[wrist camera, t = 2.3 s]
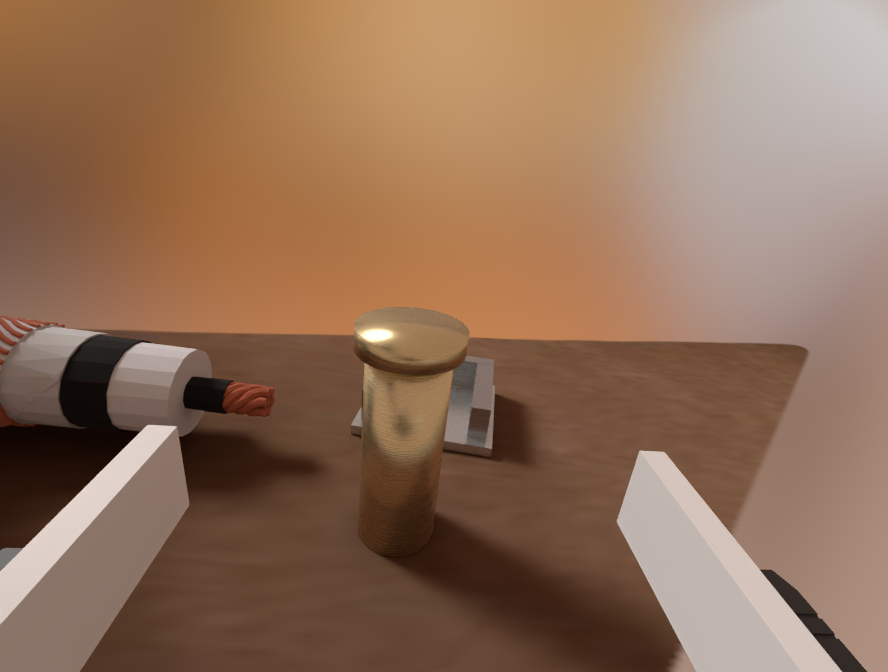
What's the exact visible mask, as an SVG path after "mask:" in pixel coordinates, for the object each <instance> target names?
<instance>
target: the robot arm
mask: <svg viewBox="0 0 888 672" xmlns="http://www.w3.org/2000/svg"><path fill="white" fill-rule="evenodd" d="M189 505H190V504H189V498H188V492H187V485H186V479H185V473H184V466H183V460H182V454H181V447H180V441H179V435H178V428H177V426H162V425H147V426H146V427H145V428H144V429H143V430H142V431H141V432H140V433H139V434H138V435H137V436H136V437H135V438H134V439H133V440H132V441H131V442H130V443H129V444H128V445H127V446H126V447H125V448H124V449H123V450H122V451H121V452H120V453H119V454H118V455H117V456H116V457H115V458H114V459H113V460H112V461H111V462H110V463H109V464H108V465H107V466H106V467H105V468H104V469H103V470H102V471H101V472H100V473H99V474H98V475H97V476H96V477H95V478H94V479H93V480H92V481H91V482H90V483H89V484H88V485H87V486H86V487H85V488H84V489H83V490H82V491H81V492H80V493H79V494H78V495H77V496H76V497H75V498H74V499H73V500H72V501H71V502H70V503H69V504H68V505H67V506H66V507H65V508H63V509H62V510H61V511H60V512H59V513H58V514H57V515H56V516H55V517H54V518H53V519H52V520H51V521H50V522H49V523H48V524H47V525H46V526H45V527H44V528H43V529H42V530H41V531H40V532H39V533H38V534H37V535H36V536H35V537H34V538H33V539H32V540H31V541H30V542H29V543H28V544H27V545H26V546H25V547H24V548H4V549H2V550H0V672H80V671H81V669H82V668H83V666H84V665H85V663H86V662H87V660H88V658H89V657H90V655H91V654H92V652H93V651H94V649H95V648H96V646H97V645H98V643H99V642H100V640H101V639H102V637H103V636H104V634H105V633H106V631H107V630H108V628H109V627H110V625H111V624H112V622H113V620H114V619H115V617H116V616H117V614H118V613H119V611H120V610H121V608H122V607H123V605H124V604H125V602H126V601H127V599H128V598H129V596H130V595H131V593H132V592H133V590H134V589H135V587H136V586H137V584H138V582H139V581H140V579H141V578H142V576H143V575H144V573H145V572H146V570H147V569H148V567H149V566H150V564H151V563H152V561H153V560H154V558H155V557H156V555H157V554H158V552H159V551H160V549H161V548H162V546H163V544H164V543H165V541H166V540H167V538H168V537H169V535H170V534H171V532H172V531H173V529H174V528H175V526H176V525H177V523H178V522H179V520H180V519H181V517H182V516H183V514H184V513H185V511H186V510H187V508H188V506H189ZM617 523H618V525H619V527H620V529H621V531H622V532H623V534H624V536H625V538H626V540H627V542H628V544H629V546H630V548H631V550H632V551H633V553H634V555H635V557H636V559H637V561H638V563H639V565H640V567H641V568H642V570H643V572H644V574H645V576H646V578H647V580H648V582H649V584H650V585H651V587H652V589H653V591H654V593H655V595H656V597H657V599H658V601H659V603H660V604H661V606H662V608H663V610H664V612H665V614H666V616H667V618H668V620H669V621H670V623H671V625H672V627H673V629H674V631H675V633H676V635H677V637H678V638H679V640H680V642H681V644H682V646H683V648H684V650H685V652H686V654H687V656H688V657H689V659H690V661H691V663H692V665H693V667H694V669H695V671H696V672H867V671H866V670H865V669H864V668H863V667H862V666H861V664H860V663H859V662H858V661H857V660H856V658H855V657H854V656H853V655H852V654H851V652H850V651H849V650H848V649H847V648H846V647H845V645H844V644H843V643H842V642H841V641H840V640H839V639H836V638H835V636H834V633H833V631H832V630H831V629H830V628H829V627H828V626H827V624H826V623H825V622H824V621H823V620H822V619H819V618H818V616H817V613H816V612H815V611H814V609H813V608H812V607H811V606H810V605H809V603H808V602H807V601H806V600H805V599H804V598H803V597H802V595H801V594H800V593H799V592H798V591H797V590H796V589H795V588H794V587H792V586H791V585H790V584H789V583H787V582H786V581H785V580H784V579H782V578H781V577H780V576H779V575H777V574H776V573H775V572H774V571H772V570H759V568H758V567H757V566H756V565H755V564H754V562H753V561H752V560H751V559H750V557H749V556H748V555H747V554H746V552H745V551H744V550H743V549H742V547H741V546H740V545H739V544H738V542H737V541H736V540H735V539H734V538H733V536H732V535H731V534H730V533H729V531H728V530H727V529H726V528H725V526H724V525H723V524H722V523H721V521H720V520H719V519H718V518H717V517H716V515H715V514H714V513H713V512H712V510H711V509H710V508H709V507H708V505H707V504H706V503H705V502H704V500H703V499H702V498H701V497H700V496H699V494H698V493H697V492H696V491H695V489H694V488H693V487H692V486H691V484H690V483H689V482H688V481H687V479H686V478H685V477H684V476H683V475H682V473H681V472H680V471H679V470H678V468H677V467H676V466H675V465H674V463H673V462H672V461H671V460H670V458H669V457H668V456H667V455H666V454H665V452H653V451H639V454H638V457H637V461H636V464H635V467H634V470H633V473H632V476H631V479H630V482H629V485H628V488H627V491H626V494H625V498H624V501H623V504H622V507H621V510H620V513H619V516H618V519H617Z"/></svg>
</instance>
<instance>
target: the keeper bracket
mask: <svg viewBox="0 0 888 672" xmlns="http://www.w3.org/2000/svg"><path fill="white" fill-rule="evenodd" d="M493 370H494V360H492V359H485V358H479V357H472V356H466V359H465V361H464V362H463V364H461V365H460V366H459V367H457V368H456V369H454V370H453V376H452V384H451V391H450V399H449V407H448V415H447V423H446V430H445V438H444V446H443V449H444V450H450V451H456V452H461V453H467V454H473V455H479V456H485V457H491V452H492V440H493V419H494V398H495V386H494V385H493ZM363 390H364V388H363V389H362V407H361V409H360V410H359V412H358V414H357V415H356V417H355V419H354V421H353V422H352V424H351V434H355V435H361V436H362V416H363Z"/></svg>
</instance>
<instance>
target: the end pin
mask: <svg viewBox="0 0 888 672" xmlns="http://www.w3.org/2000/svg"><path fill="white" fill-rule="evenodd" d="M354 325H355V326H354V351H355V354H356V355H357V357H358V358H359V359H360V360H362V361H363V362H364V363H365V365H364V390H363V416H362V441H361V466H360V491H359V516H358V532H359V535H360V538H361V540H362V541H363V543H364V544H365V545H366V546H367V547H368V548H369V549H371V550H372V551H374V552H376V553H378V554H380V555H384V556H389V557H403V556H407V555H410V554H413V553H415V552H417V551H419V550H420V549H422V548H423V547H424V546H425V545H426V544H427V543H428V541H429V540H430V538H431V536H432V532H433V524H434V516H435V509H436V501H437V493H438V485H439V477H440V470H441V462H442V454H443V446H444V438H445V430H446V423H447V415H448V407H449V399H450V391H451V384H452V376H453V370H454V369H456V368H457V367H459V366H460V365H461V364H463V362H464V361H465V359H466V354H467V347H468V340H469V330H468V328H467V327H466V326H465V325H464V324H463V323H462V322H461V321H459V320H457V319H455V318H454V317H451V316H449V315H446V314H443V313H440V312H436V311H432V310H427V309H420V308H410V307H393V308H383V309H377V310H373V311H370V312H367V313H365V314H363V315H361V316H360V317H359V318H357V320H356V321H355V324H354Z"/></svg>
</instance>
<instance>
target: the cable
mask: <svg viewBox="0 0 888 672" xmlns="http://www.w3.org/2000/svg"><path fill="white" fill-rule="evenodd" d="M273 395H274V388H272V387H267V386H262V385H257V384H253V385H250V384H247V383H237V382H234V381H232V380H223V379H214V378H212V370H211V363H210V360H209V357H208V355H207V354H206V353H205V351H201V350H198V349H191V348H183V347H175V346H167V345H159V344H152V343H151V342H149V341H143V340H136V339H128V338H120V337H113V336H111V335H110V334H107V333H99V332H91V331H83V330H75V329H70V328H65V326H64V325H58V324H57V323H53V322H42V321H37V320H26V319H22V318H14V319H13V318H11V317H8V316H0V427H5V426H8V425H14V426H22V427H26V426H34V427H35V426H36V424H42V425H51V426H60V427H69V428H77V429H83V428H94V429H103V430H112V431H121V432H125V431H139V432H141V431H142V430H143V429H144V428H145V427H146V426H147V425H162V426H177V428H178V435H179V436H180V437H182V436H184V435H186V434H188V433H190V432H191V431H192V430H193V429H194V428H195V427H196V425H197V424H198V422H199V421H200V419H201V417H202V416H203V413H204V411H208V412H215V413H223V414H226V413H233V412H234V413H236V414H248V415H249V416H263V417H266V416H269V415H270V412H271V406H273V403H274V397H273Z"/></svg>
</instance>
